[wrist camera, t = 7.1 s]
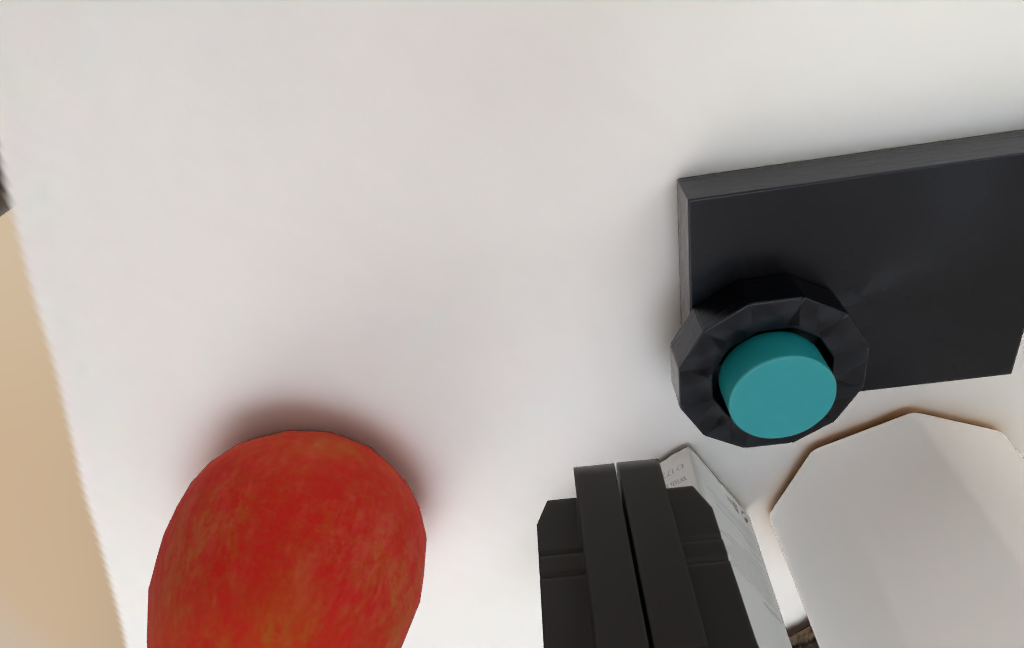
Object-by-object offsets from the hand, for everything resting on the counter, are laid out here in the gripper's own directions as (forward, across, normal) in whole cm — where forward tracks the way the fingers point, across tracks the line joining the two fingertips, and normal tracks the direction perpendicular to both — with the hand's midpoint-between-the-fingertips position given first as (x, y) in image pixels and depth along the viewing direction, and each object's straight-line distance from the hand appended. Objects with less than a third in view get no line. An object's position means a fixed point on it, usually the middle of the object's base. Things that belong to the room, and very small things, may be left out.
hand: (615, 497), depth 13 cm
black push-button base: (+14, -10, +4) cm, 18 cm away
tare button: (+11, -7, +7) cm, 15 cm away
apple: (+15, +13, +14) cm, 24 cm away
